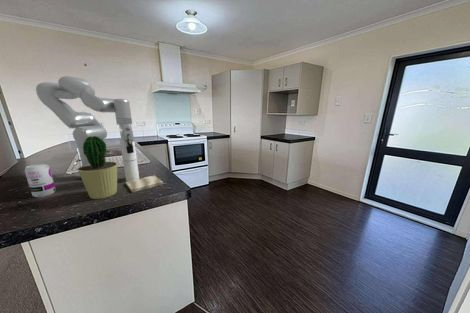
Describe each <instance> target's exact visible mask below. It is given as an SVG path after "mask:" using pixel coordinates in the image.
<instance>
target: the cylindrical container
mask: <svg viewBox="0 0 470 313" xmlns="http://www.w3.org/2000/svg"><path fill="white" fill-rule="evenodd" d="M127 141H129V140H127ZM132 144H133V150H134V153H127V148H126V146H127V145H126V142H124V140H123V139H121V138H120V139H119V145H120V150H121V156H122V163H123V170H124V175H125V176H124V177H125V182H127V181H131V180H136V179H140V175H139V174H140V173H139V167H138V166H139V164H138V159H137V153H136V152H137V151H136V143H135V140H134V141H132Z"/></svg>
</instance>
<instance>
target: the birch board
mask: <svg viewBox="0 0 470 313" xmlns="http://www.w3.org/2000/svg"><path fill="white" fill-rule="evenodd" d="M125 185H126V187H127V188H128V189H129V190H130V192H131V193H136V192H138V191H142V190H146V189H151V188H153V187H157V186H161V185H164V181H162V180H161V179H160V178H158V176H156V175H155V174H153V175H150V176H145V177H141V178H140V177H139V179H136V180H131V181H125Z"/></svg>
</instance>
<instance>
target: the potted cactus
mask: <svg viewBox="0 0 470 313" xmlns="http://www.w3.org/2000/svg"><path fill="white" fill-rule="evenodd" d="M87 137H88V136H87ZM84 141H85V140H84ZM82 146H83V148H82V149H83V151H84V152H83V153H84V155H86V157H87V160H88V162H89V164H88V165H84V166H82V165H81V166H80V167H78V168H77V171H78V173H79V174H80V176H79V177H80V178H81V180H82V183H83V185H84V187H85V189H86V191H87V192H86V193H87V194H88V197H89V198H91V200H93V199H94V200H99V199H106V198H108V197H111V196H113V195H115V194H117V193H118V162H116V161H107V160H106V155H107V153H106V152H108V151H109V149H108V150H107V142H106V141H104V139H103V140H102V139H100V138H98V137H97V136H93V137H92V136H90V137H88V138H87V139H86V141H85V142H84V144H83V145H82Z"/></svg>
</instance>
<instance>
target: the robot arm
mask: <svg viewBox="0 0 470 313" xmlns="http://www.w3.org/2000/svg"><path fill="white" fill-rule="evenodd" d="M35 91H36V95H37V97H38V100H40V102H41V103H42V104H43V105H44V106H46V107H47V108H48V109H49V110H50V111H51V112H53V114H54V115H55V116H57V118H58V119H59V120H60V121H61V122H62V123H63V124H64V125H65V126H66V128H69V129H74V130H73V131H72V137H73V139H74V142H75V143H76V145H77V150H78V153H79V158H80V163H81V166H84V165H88V164H89V162H88V160H87V157H86V155H84V153H83V152H84V151H83V149H82V148H83V146H82V145H83V144H84V142H85V141H86V139H87V138H88V137H90V136H92V137H93V136H97V137H98V138H100V139H102V140H103V141H104V140H105V139H107V136H108V133H107V132H108V131H107V130H106V128H105V127H104V125H102V124H101V122H100V121H98V119H97V118H96V117H95V116H94V115H93V114H91V113H90V112H85V111H81V112H80V111H75V110H74V108H72V107H71V105H69V104H68V103H67V102H65V101H64V100H75V99H76V100H77V99H78V98H79V99H80V101H81V102H82V103H83V105H84V106H85V107H87V108H89V109H91V110H92V111H95V112H98V113H114V116H115V120H116V122H115V123H116V125H117V126H118V125H119V134H120V139H123V140H124V142H126V145H127V146H126V148H127V153H134V150H133V144H132V141H134V142H135V137H134V136H135V135H134V132H133V128H132V127H133V126H132V125H133V119H132V113H131V112H132V111H131V106H130V100H128V99H126V98H106V97H99V96H96V91H95V89H94V88H93V87H92V86H91V83H89V81H88V80H86V79H84V78H80V77H76V76H75V77H73V76H70V75H67V76H66V75H65V76H62V77H60V78H59V79H58V80H57V83H56V82H40V83H38V84H37V85H36V88H35ZM87 136H88V137H87ZM84 140H85V141H84ZM127 140H129V141H127ZM73 176H74V177H76V178H78V177H81V176H80V174H79V172H74V173H73Z"/></svg>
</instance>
